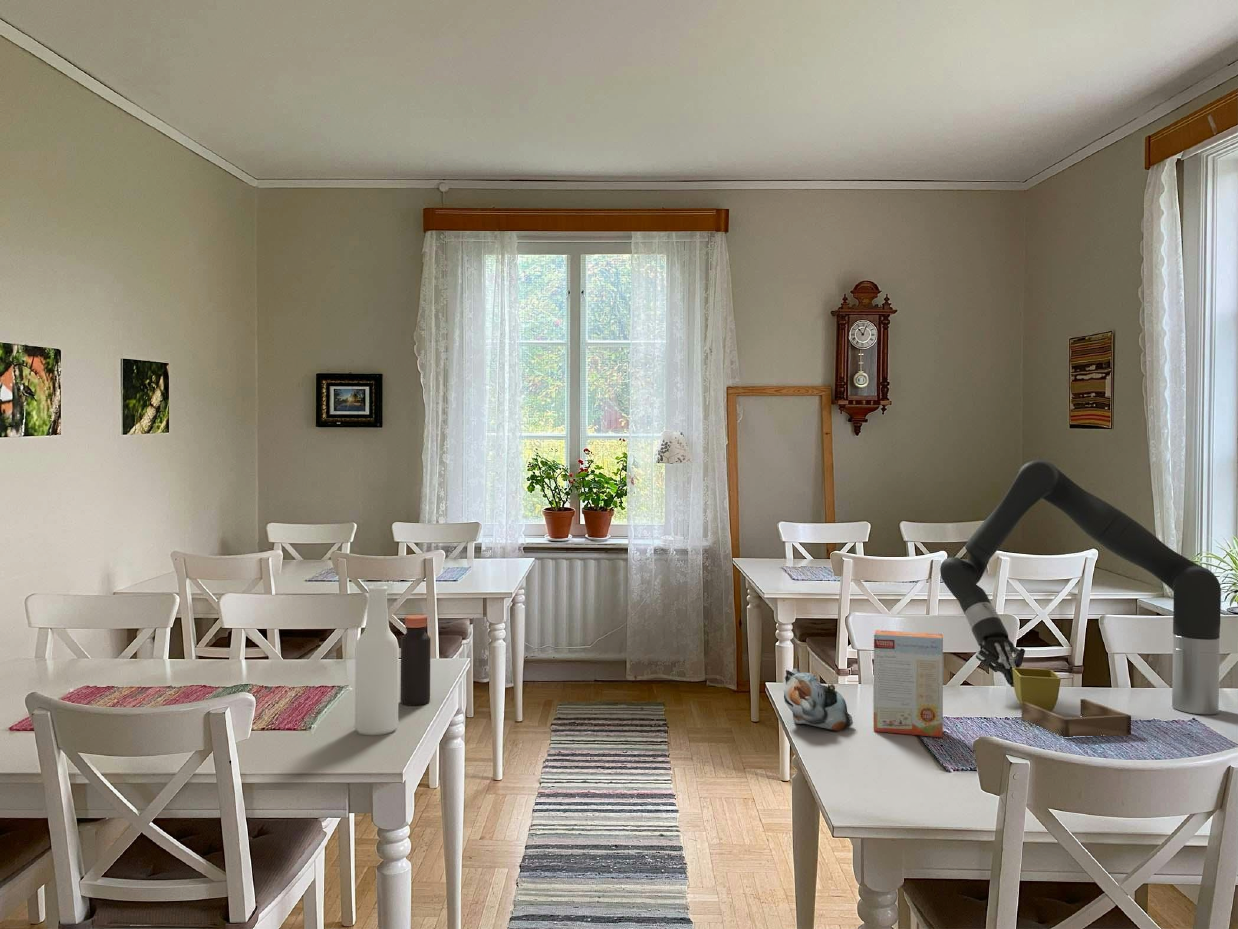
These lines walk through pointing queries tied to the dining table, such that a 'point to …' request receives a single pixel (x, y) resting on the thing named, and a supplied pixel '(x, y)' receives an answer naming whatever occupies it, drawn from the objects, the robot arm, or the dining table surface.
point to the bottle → (415, 662)
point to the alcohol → (376, 670)
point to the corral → (1080, 720)
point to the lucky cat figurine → (815, 702)
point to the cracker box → (908, 683)
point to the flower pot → (1036, 687)
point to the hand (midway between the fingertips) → (1016, 685)
